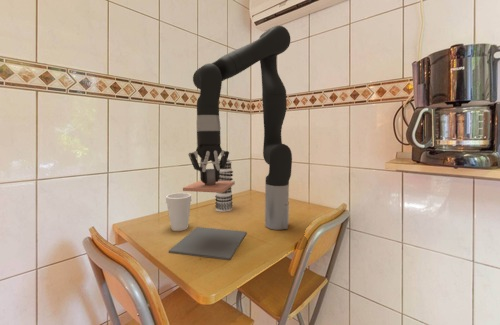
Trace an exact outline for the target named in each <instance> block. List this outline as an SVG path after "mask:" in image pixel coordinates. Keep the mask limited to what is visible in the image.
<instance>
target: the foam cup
mask: <svg viewBox="0 0 500 325" xmlns="http://www.w3.org/2000/svg"><path fill="white" fill-rule="evenodd" d="M191 202H192V194H191V193H188V192H176V193H175V192H174V193H169V194H167V195H166V196H165V203H166V205H167V210H168V211H167V212H168V216H169V217H168V218H169V222H170V228H171V230H172V231H174V232H179V231H185V230H187V229H188V228H189V221H190V213H191Z"/></svg>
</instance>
